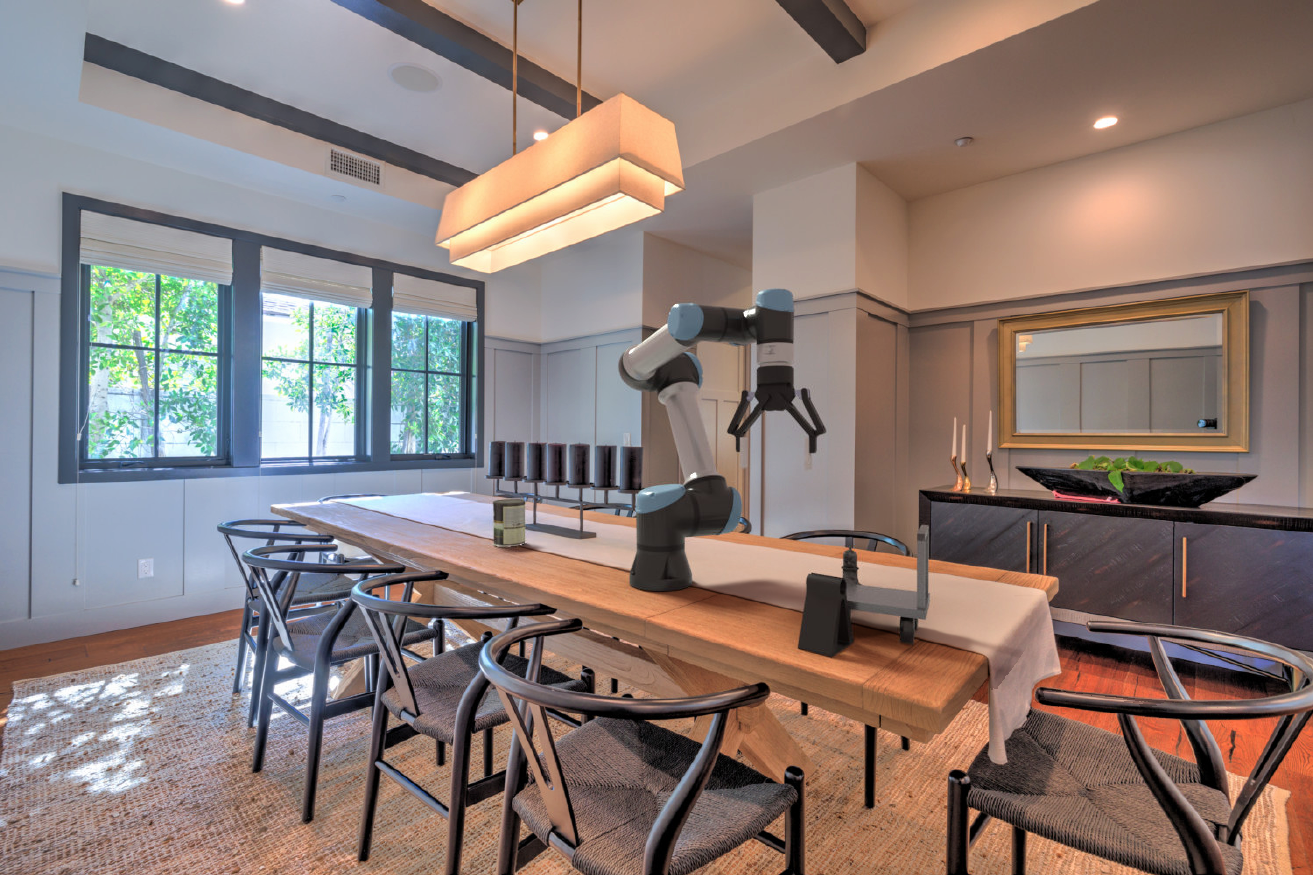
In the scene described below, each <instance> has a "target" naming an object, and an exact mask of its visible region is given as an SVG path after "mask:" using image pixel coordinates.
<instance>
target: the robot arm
mask: <svg viewBox="0 0 1313 875" xmlns="http://www.w3.org/2000/svg"><path fill="white" fill-rule="evenodd" d="M666 322H667V323H666V324H665V325H663V326H662V327H661V328H659V329H658V330H656V331H655V332H654V333H652V335H650V336H649V337H647V338H646V339H645V340H643V341H642V342H641V343H638V344H637V343H636V344H633V345H631V346H629V347H628V348H627V349H625V350H624V351H623V352H622V353H621V355H620V357H619V359H618V365H617V371H618V373H619V376H620V379H621V380H622V381H623V382H624V383H625V385H627V386H628V387H630V388H631V389H633V390H635V391H640V392H647V393H652V392H653V393H656V395H657V399H658V402H660V403H661V405H664V406H665V409H666V412H667V416H668V419H669V424H670V428H671V432H672V436H673V440H674V443H675V447H676V451H677V454H678V458H679V463H680V468H681V471H682V476H683V478H684V481H683V484H681V483H669V484H659V485H658V484H657V485H654V486H649V487H645V488H643V489H641V490H640V491H638V494H637V495H636V506H635V514H636V515H635V524H636V531H635V532H636V552H635V556H634V558H633V562H632V564H631V568H630V571H629V581H628V582H629V585H630V586H631V587H633V588H636V589H638V590H643V591H651V592H671V591H678V590H683V589H687V588H689V587H691V586H692V584H693V572H692V569H691V566H690V564H689V560H688V557H687V553H686V547H685V546H686V544H685V543H686V538H692V537H693V538H695V537H704V536H705V537H706V536H720V535H724V534H730V533H732V532H734V531H735V530H736V529H737V527H738V526H739V524H740V520H741V518H742V513H743V503H742V500H743V499H742V496H741V494H740V492H739V491H738V489H736V488H735V487H733V486H728V483H727V479H726V477H725V476H724V475H723V474H721V473H719V472H718V470H717V468H716V463H715V461H714V456H713V453H712V449H711V445H710V443H709V438H708V436H707V433H706V428H705V424H704V422H703V418H702V414H701V411H700V408H699V404H698V401H697V398H696V397H697V396H698V395H699V393H700V389H701V387H702V385H703V382H704V381H703V380H704V377H703V375H704V369H703V366H702V363H701V362H700V360H699V358H698V357H697V355H695V354H694V353H692V352H689V351H688V350H690V349H691V348H692V347H694V346H697V345H698V344H699V343H701V342H714V343H728V345H731V346H733V347H740V346H742V347H743V346H744V347H745V346H748V345H751V344H754V343H756V364H757V365H758V367H757V368H756V389H755V391H750V390H746V389H743V390H742V391H741V396H740V397H741V398H740V400H739V401H740V402H739V404H738V406H737V409H736V411H735V412H734V415H733V416H732V419H731V421H730V422H729V425H728V427H727V429H726V433H727V434H729V435H732V436H734V438H735V451H736V453H739V469H748V467H749V466H748V465H749V464H748V462H749V461H748V459H749V457H748V456H749V454H748V452H749V448H748V445H749V444H748V443H749V442H748V441H749V440H748V438H749V437H748V436H747V437H746V436H745V435H746V434H747V432H748V431H749V430H750V428H752V426H753V425H754V423H755V422H756V421H757V420H758V419H759V418H760V416H761V415H762V414H763V413H764V412H765V411H766V412H775V411H777V412H784V411H786V412H787V413H789V415H790V416H792V417H793V419H794V420H795V421H796V422H797V424H799V426H800V427H801V429H802V430H803V431H804V432H805V433H806V435H808V437H804V471H811V470H812V467H813V466H812V464H813V463H812V462H813V461H812V460H813V454H817V451H818V448H817V447H818V444H817V443H818V441H817V439H818V437H819V436H821V435H824V434H826V433H827V429H826V427H825V425H824V422H823V421H822V419H821V417H820V415H819V412H818V411H817V409H816V407H815V405H814V403H813V401H812V399H811V392H810V389H809V388H806V387H802V388H800V389H795V376H794V375H795V369H794V367H793V366H792V365H793V364H794V363H795V360H794V357H795V356H794V353H795V352H794V351H795V349H794V346H795V344H794V340H795V339H794V338H795V337H794V336H795V334H794V333H795V330H794V329H795V308H794V295H793V293H792V291H791V290H789V289H786V288H766V289H762V290H761V291H759V292H758V293H757V294H756V301H755V306H751V307H749V308H738V307H737V308H735V307H729V306H728V307H727V306H717V305H714V306H713V305H706V304H698V303H693V302H688V303H687V302H686V303H684V302H683V303H676V304H674V305H673V306H671V309H670V311H669V313H668V316H667V321H666ZM687 351H688V352H687ZM796 397H797V398H798V399H799V400H801V402H802V404H803V405H804V408H805V409H806V411H807V414H808V416H809V418H810V420H811V421H812V424H813V425H814V428H815V429H814V428H813V426H812V425H811V424H810V423H809V422H808V420H807V419H806V418H805V417H804V416H803V414H801V412H800V411H799V410H798V409H797V407H796V406H795V405H794V403H793V401H794V400H795V398H796ZM754 398H755V400H756V401H757V402H758V403H757V404H756V405H755V406H754V407H753V410H752V411H751V412H750V413H749V415H748V416H747V418H746V419H745V420H744V421H743V422H742V420H743V419H744V416H745V414H746V412H747V410H748V408H749V406H750V403H751V402H752V401H753V400H754ZM741 422H742V424H741Z"/></svg>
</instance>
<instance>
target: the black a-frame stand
mask: <svg viewBox="0 0 1313 875" xmlns="http://www.w3.org/2000/svg"><path fill="white" fill-rule="evenodd" d="M805 584H806V585H805V586H806V590H805V591H806V592H805V596H804V597H805V599H804V604H803V611H802V617H801V618H802V619H801V624H800V631H799V636H798V637H799V638H798V643H797V649H799V650H803V651H806V652H811V653H812V654H813V653H814V654H818V655H822V656H826V657H829V658H834V657H835V656H837V655H838V654H839V653H841V652H843V651H845V650H846V649H847V648H848V647H850V646H851V645H852V644H854V642H855V638H854V632H853V626H852V620H851V617H850V613H849V607H848V601H847V593H846V589H847V583H846V579H845V578H842V577H839V576H833V575H828V574H824V573H823V574H821V573H817V572H811V573H808V574H807V576H806V580H805Z"/></svg>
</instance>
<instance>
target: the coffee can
mask: <svg viewBox="0 0 1313 875" xmlns="http://www.w3.org/2000/svg"><path fill="white" fill-rule="evenodd" d="M492 507H493V508H492V509H493V511H492V516H493V517H492V519H493V523H492V524H493V525H492V526H493V543H492V544H493V546H494V547H496V546H497V548H512V547H511V546H517V545H520V544H523V543H525V542H526V500H525V499H519V498H509V499H508V498H506V499H497V500H494V501H492ZM525 544H526V543H525ZM517 547H518V546H517Z"/></svg>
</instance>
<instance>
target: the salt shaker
mask: <svg viewBox="0 0 1313 875" xmlns="http://www.w3.org/2000/svg"><path fill="white" fill-rule="evenodd" d="M841 569H842V577H841V578H845V579H846V583H848V584H857V585H863V584H861V583H860V582H859V579H858V570H859V569H860V568H859V567H858V554H857V552H856V551H855V550H852V546H849V547H848V549H847V550H845V551H844V552H843V554H842V566H841Z"/></svg>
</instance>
